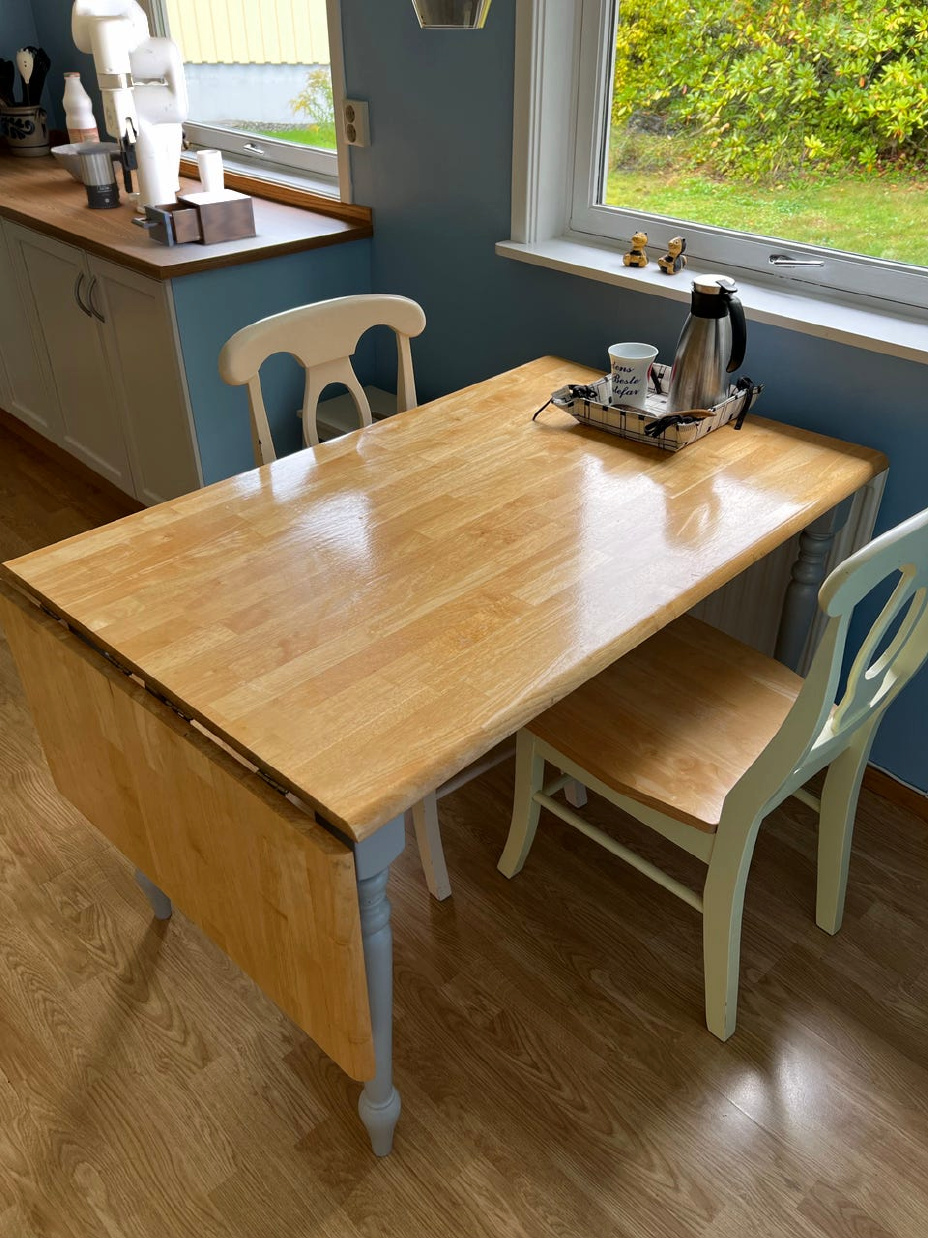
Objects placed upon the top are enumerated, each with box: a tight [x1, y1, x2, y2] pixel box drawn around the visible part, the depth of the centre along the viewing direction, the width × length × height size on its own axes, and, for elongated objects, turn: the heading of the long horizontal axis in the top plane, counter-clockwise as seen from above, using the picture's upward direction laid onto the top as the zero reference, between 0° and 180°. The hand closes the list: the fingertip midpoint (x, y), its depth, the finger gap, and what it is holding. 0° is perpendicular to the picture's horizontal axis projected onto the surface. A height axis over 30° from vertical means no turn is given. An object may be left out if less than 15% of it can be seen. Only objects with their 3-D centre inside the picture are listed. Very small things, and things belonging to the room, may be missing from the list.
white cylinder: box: [196, 149, 225, 193], centre depth 274 cm, size 7×7×15 cm
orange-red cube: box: [168, 212, 175, 238], centre depth 244 cm, size 5×5×5 cm
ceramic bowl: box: [50, 141, 122, 183], centre depth 307 cm, size 22×23×10 cm
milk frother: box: [76, 148, 134, 209], centre depth 280 cm, size 14×16×15 cm
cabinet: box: [176, 189, 257, 246], centre depth 250 cm, size 15×13×10 cm
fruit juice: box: [62, 71, 100, 144], centre depth 324 cm, size 9×9×28 cm
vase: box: [133, 81, 183, 193], centre depth 292 cm, size 15×15×29 cm
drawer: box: [130, 201, 203, 248], centre depth 243 cm, size 18×11×8 cm, turn 130°
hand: (130, 169), depth 231 cm, fingers closed
